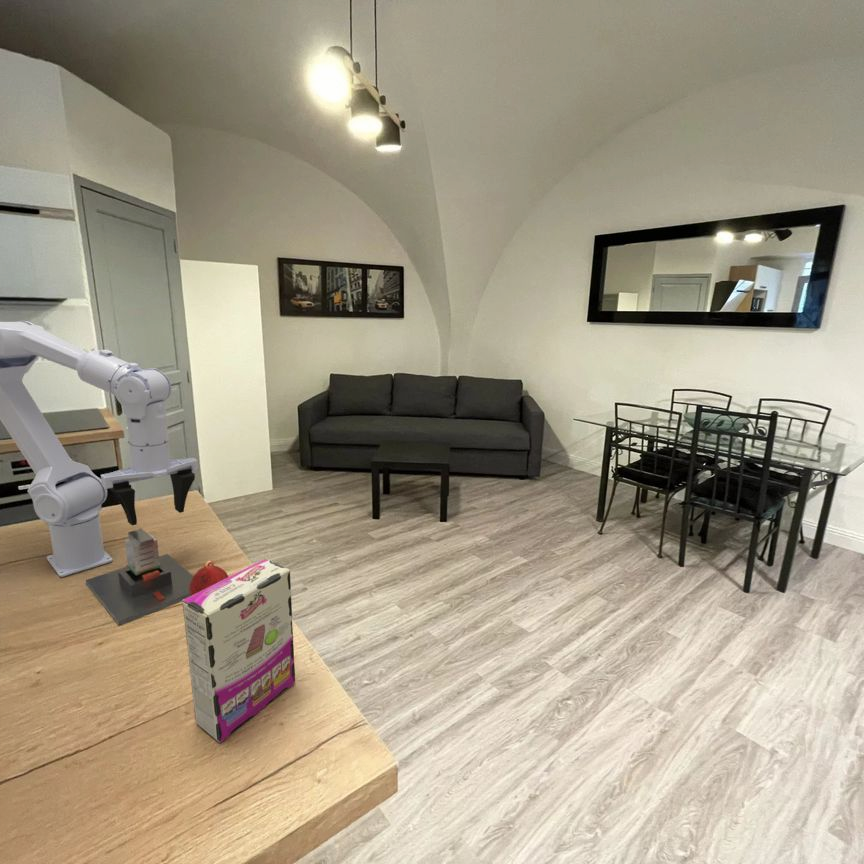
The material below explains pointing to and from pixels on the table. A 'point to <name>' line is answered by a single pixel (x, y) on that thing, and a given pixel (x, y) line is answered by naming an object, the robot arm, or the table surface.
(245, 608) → the candy bar box
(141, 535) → the grey block
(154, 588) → the stand
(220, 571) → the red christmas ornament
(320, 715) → the table surface
